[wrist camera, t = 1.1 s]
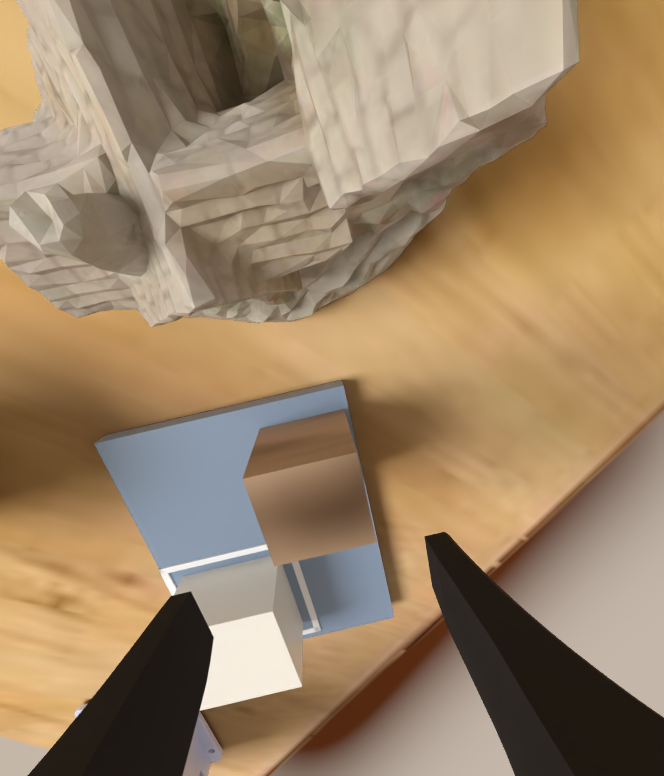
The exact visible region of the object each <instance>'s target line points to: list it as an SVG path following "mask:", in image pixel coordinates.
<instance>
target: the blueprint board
mask: <svg viewBox="0 0 664 776" xmlns="http://www.w3.org/2000/svg"><path fill="white" fill-rule="evenodd" d="M341 409H344V411H345V414H346V418H347V421H348V424H349V428H350V431H351V434H352V438H353V441H354V444H355V448H356V451H357V455H358V460H359V464H360V469H361V473H362V478H363V482H364V487H365V491H366V496H367V500H368V505H369V510H370V514H371V519H372V523H373V528H374V532H375V537H376V541H377V543H372V544H368V545H364V546H360V547H355V548H351V549H347V550H343V551H338V552H334V553H330V554H326V555H321V556H317V557H313V558H309V559H304V560H300V561H296V562H292V563H287V564H283V567H284V570H285V573H286V576H287V579H288V581H289V584H290V587H291V590H292V593H293V596H294V598H295V601H296V604H297V607H298V610H299V612H300V615H301V618H302V621H303V639H305V638H309V637H313V636H317V635H322V634H326V633H330V632H334V631H338V630H343V629H347V628H351V627H355V626H360V625H364V624H368V623H372V622H377V621H381V620H385V619H389V618H393V617H394V613H393V609H392V604H391V600H390V595H389V591H388V586H387V581H386V577H385V572H384V568H383V563H382V559H381V554H380V549H379V545H378V540H377V536H376V531H375V527H374V522H373V517H372V513H371V508H370V504H369V499H368V495H367V490H366V485H365V481H364V476H363V472H362V467H361V463H360V458H359V453H358V449H357V444H356V440H355V435H354V431H353V426H352V421H351V417H350V412H349V408H348V403H347V399H346V394H345V389H344V385H343V382H342V380H339V381H335V382H331V383H327V384H322V385H318V386H314V387H309V388H305V389H301V390H297V391H292V392H288V393H284V394H279V395H275V396H271V397H267V398H262V399H258V400H254V401H249V402H245V403H241V404H237V405H232V406H228V407H224V408H219V409H215V410H211V411H207V412H202V413H198V414H194V415H189V416H185V417H181V418H177V419H172V420H168V421H164V422H159V423H155V424H151V425H147V426H142V427H138V428H134V429H129V430H125V431H121V432H117V433H112V434H108V435H105V436H104V437H103V438H101V439H100V440H98V441H97V442H96V443H94V445H95V447H96V449H97V451H98V453H99V455H100V457H101V458H102V460H103V462H104V464H105V466H106V468H107V470H108V472H109V474H110V476H111V477H112V479H113V481H114V483H115V485H116V487H117V489H118V491H119V493H120V495H121V497H122V498H123V500H124V502H125V504H126V506H127V508H128V510H129V512H130V514H131V516H132V518H133V519H134V521H135V523H136V525H137V527H138V529H139V531H140V533H141V535H142V537H143V538H144V540H145V542H146V544H147V546H148V548H149V550H150V552H151V554H152V556H153V558H154V559H155V561H156V563H157V565H158V567H159V572H160V574H161V576H162V578H163V579H164V581H165V583H166V585H167V587H168V589H169V591H170V593H171V595H172V596H173V595H174V594H175V591H176V589H177V587H178V584H179V582H180V580H181V578H182V577H183V576H188V575H192V574H196V573H200V572H205V571H209V570H213V569H217V568H222V567H226V566H230V565H234V564H239V563H243V562H247V561H251V560H256V559H260V558H264V557H268V556H270V553H269V550H268V548H267V545H266V542H265V539H264V537H263V534H262V531H261V529H260V526H259V523H258V520H257V518H256V515H255V512H254V509H253V507H252V504H251V501H250V499H249V496H248V493H247V490H246V488H245V485H244V482H243V476H244V473H245V470H246V467H247V464H248V461H249V458H250V455H251V452H252V449H253V446H254V444H255V441H256V438H257V435H258V432H259V429H260V428H264V427H268V426H273V425H277V424H281V423H286V422H290V421H294V420H298V419H303V418H307V417H311V416H316V415H320V414H324V413H328V412H333V411H337V410H341Z"/></svg>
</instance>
